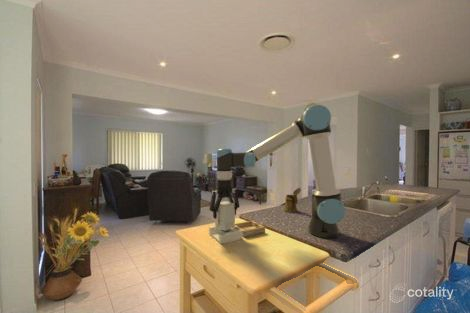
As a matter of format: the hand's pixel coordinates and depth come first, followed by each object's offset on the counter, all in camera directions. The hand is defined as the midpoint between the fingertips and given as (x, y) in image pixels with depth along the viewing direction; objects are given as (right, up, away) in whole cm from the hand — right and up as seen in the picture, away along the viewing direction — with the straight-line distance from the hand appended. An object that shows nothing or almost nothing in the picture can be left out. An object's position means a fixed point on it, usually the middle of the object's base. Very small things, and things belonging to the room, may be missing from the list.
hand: (225, 222), depth 115 cm
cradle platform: (0, -4, 0) cm, 4 cm away
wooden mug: (+46, -5, +45) cm, 65 cm away
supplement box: (0, -3, 0) cm, 3 cm away
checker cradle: (0, -7, 0) cm, 7 cm away
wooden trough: (+12, -7, +7) cm, 16 cm away
